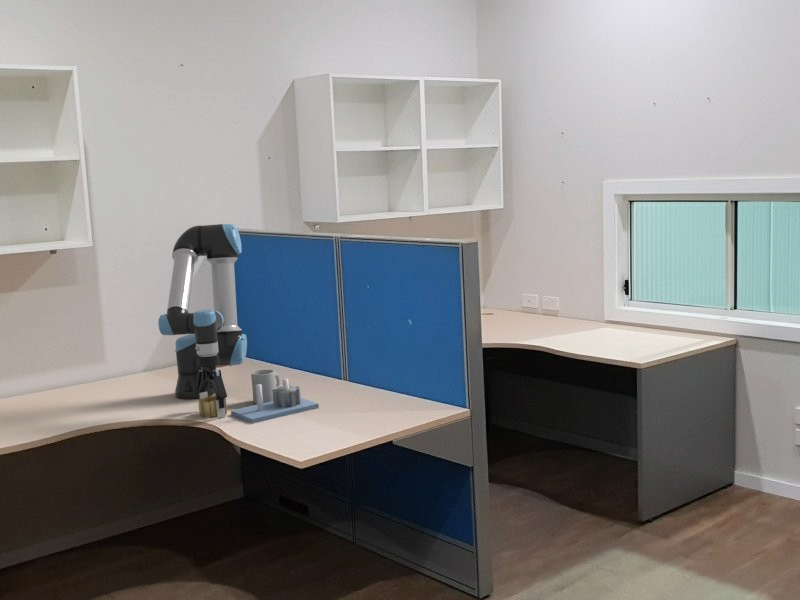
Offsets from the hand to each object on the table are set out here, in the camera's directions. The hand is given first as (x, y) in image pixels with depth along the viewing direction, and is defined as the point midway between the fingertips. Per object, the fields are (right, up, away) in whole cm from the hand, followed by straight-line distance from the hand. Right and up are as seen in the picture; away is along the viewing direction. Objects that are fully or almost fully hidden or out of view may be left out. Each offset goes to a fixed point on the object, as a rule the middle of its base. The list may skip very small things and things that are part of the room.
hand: (213, 413), depth 327 cm
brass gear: (0, 0, 0) cm, 0 cm away
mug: (+17, +3, +15) cm, 23 cm away
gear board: (+22, +1, -1) cm, 22 cm away
